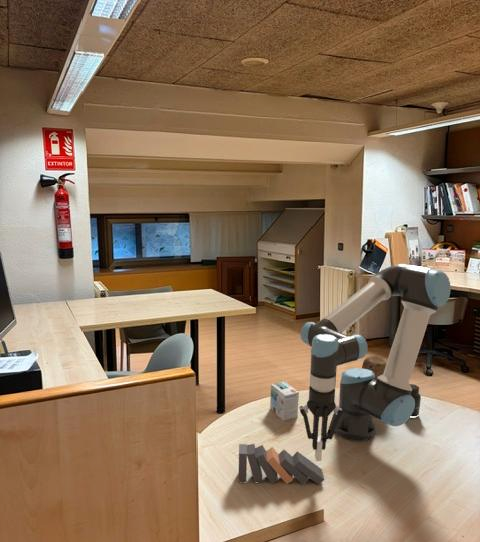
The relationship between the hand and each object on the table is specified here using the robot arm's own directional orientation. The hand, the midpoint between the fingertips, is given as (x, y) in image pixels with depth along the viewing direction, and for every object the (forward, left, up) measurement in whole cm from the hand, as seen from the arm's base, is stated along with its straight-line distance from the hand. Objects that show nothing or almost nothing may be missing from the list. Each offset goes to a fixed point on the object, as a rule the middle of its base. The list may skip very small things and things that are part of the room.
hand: (318, 458), depth 139 cm
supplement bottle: (-43, -41, -8) cm, 60 cm away
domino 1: (+23, 0, -7) cm, 24 cm away
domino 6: (-1, 0, -7) cm, 7 cm away
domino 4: (+9, 0, -7) cm, 11 cm away
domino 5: (+4, 0, -7) cm, 7 cm away
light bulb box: (+7, -40, -8) cm, 41 cm away
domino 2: (+18, 0, -7) cm, 19 cm away
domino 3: (+13, 0, -7) cm, 15 cm away
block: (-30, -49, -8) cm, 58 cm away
